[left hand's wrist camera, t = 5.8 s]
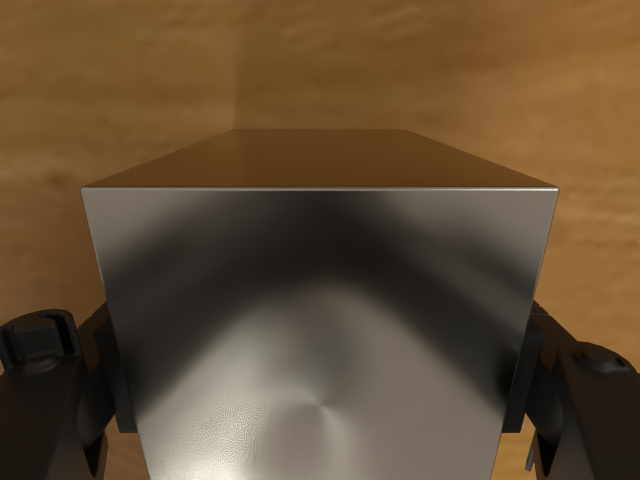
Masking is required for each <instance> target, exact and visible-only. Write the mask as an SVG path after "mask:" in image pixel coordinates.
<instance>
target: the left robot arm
mask: <svg viewBox="0 0 640 480" xmlns="http://www.w3.org/2000/svg"><path fill="white" fill-rule="evenodd" d="M0 359H1V362H2V364H3V367H4V369H5V370H4V372H3V374H2V375H0V480H103V478H104V471H105V464H106V457H107V450H108V441H107V436H106V433H105V428H106V426H107V425H108V423H109V422H110V420H111V419H112V417H113V416H114V414H115V417H116V420H117V424H118V428H119V432H120V433H138V430H137V426H136V422H135V418H134V413H133V409H132V405H131V401H130V397H129V393H128V388H127V384H126V380H125V376H124V372H123V367H122V363H121V359H120V355H119V351H118V347H117V342H116V338H115V334H114V330H113V326H112V321H111V317H110V313H109V309H108V305H107V301H106V302H105V303H104V304H103V305H102V306H101V308H98V309H97V310H96V311H95V312H94V313H93V314H92V317H89V318H88V319H87V320H86V321H85V322H84V323H83V324H82V325H81V326H80V327H79V328H78V329H76V326H75V323H74V319H73V316H72V314H71V313H70V312H68V311H67V310H61V309H49V310H41V311H37V312H33V313H29V314H25V315H23V316H20V317H18V318H15V319H13V320H11V321H9V322H7V323H5V324H4V325H2V326H0ZM525 412H526V414H527V416H528V417H529V419H530V420H531V422H532V423H533V425H534V426H535V428H536V429H535V433H534V436H533V440H532V443H531V447H530V450H529V454H528V457H527V461H526V467H525V470H527V471H530V472H531V468H532V465H533V463H535V470H536V477H537V480H640V374H639V373H637V371H636V369H635V368H634V367H633V366H632V365H631V364H630V363H629V361H627V360H626V359H625V358H623V357H622V356H620V355H619V354H617V353H615V352H613V351H611V350H609V349H607V348H604V347H602V346H599V345H595V344H592V343H588V342H580V341H577V340H576V339H575V338H574V337H573V336H572V335H570V334H569V333H568V332H567V331H566V330H565V329H564V328H563V327H562V326H561V325H560V324H559V323H558V322H557V321H556V320H555V319H554V318H553V317H551V316H549V315H548V313H547V312H546V311H545V310H544V309H543V308H542V307H539V304H538V303H537V302H536V301H535V300H534V299H533V303H532V307H531V312H530V316H529V320H528V324H527V328H526V333H525V337H524V341H523V345H522V349H521V353H520V358H519V362H518V366H517V370H516V374H515V379H514V383H513V387H512V391H511V395H510V400H509V404H508V408H507V412H506V416H505V420H504V425H503V429H502V433H520V431H521V427H522V423H523V419H524V416H525Z"/></svg>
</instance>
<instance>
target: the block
mask: <svg viewBox="0 0 640 480" xmlns="http://www.w3.org/2000/svg"><path fill="white" fill-rule="evenodd" d="M80 192H81V196H82V200H83V204H84V209H85V213H86V217H87V221H88V225H89V229H90V234H91V238H92V242H93V246H94V250H95V255H96V259H97V263H98V267H99V271H100V275H101V280H102V284H103V288H104V292H105V296H106V301H107V305H108V309H109V313H110V317H111V321H112V326H113V330H114V334H115V338H116V342H117V347H118V351H119V355H120V359H121V363H122V367H123V372H124V376H125V380H126V384H127V388H128V393H129V397H130V401H131V405H132V409H133V413H134V418H135V422H136V426H137V430H138V434H139V439H140V443H141V447H142V451H143V455H144V459H145V464H146V468H147V472H148V476H149V480H490V479H491V475H492V471H493V467H494V462H495V458H496V454H497V450H498V446H499V441H500V437H501V433H502V429H503V425H504V420H505V416H506V412H507V408H508V404H509V400H510V395H511V391H512V387H513V383H514V379H515V374H516V370H517V366H518V362H519V358H520V353H521V349H522V345H523V341H524V337H525V333H526V328H527V324H528V320H529V316H530V312H531V307H532V303H533V299H534V295H535V291H536V286H537V282H538V278H539V274H540V270H541V265H542V261H543V257H544V253H545V249H546V245H547V240H548V236H549V232H550V228H551V224H552V219H553V215H554V211H555V207H556V203H557V198H558V194H559V188H558V187H557V186H554V185H552V184H549V183H546V182H544V181H541V180H538V179H536V178H533V177H530V176H528V175H525V174H522V173H520V172H517V171H514V170H512V169H509V168H506V167H504V166H501V165H498V164H496V163H493V162H490V161H488V160H485V159H482V158H480V157H477V156H475V155H472V154H469V153H467V152H464V151H461V150H459V149H456V148H453V147H451V146H448V145H445V144H443V143H440V142H437V141H435V140H432V139H429V138H427V137H424V136H421V135H419V134H416V133H413V132H411V131H408V130H232V131H229V132H226V133H224V134H221V135H218V136H216V137H213V138H210V139H208V140H205V141H202V142H200V143H197V144H194V145H192V146H189V147H187V148H184V149H181V150H179V151H176V152H173V153H171V154H168V155H165V156H163V157H160V158H157V159H155V160H152V161H149V162H147V163H144V164H141V165H139V166H136V167H133V168H131V169H128V170H125V171H123V172H120V173H117V174H115V175H112V176H109V177H107V178H104V179H101V180H99V181H96V182H93V183H91V184H88V185H85V186H83V187H81V189H80Z"/></svg>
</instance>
